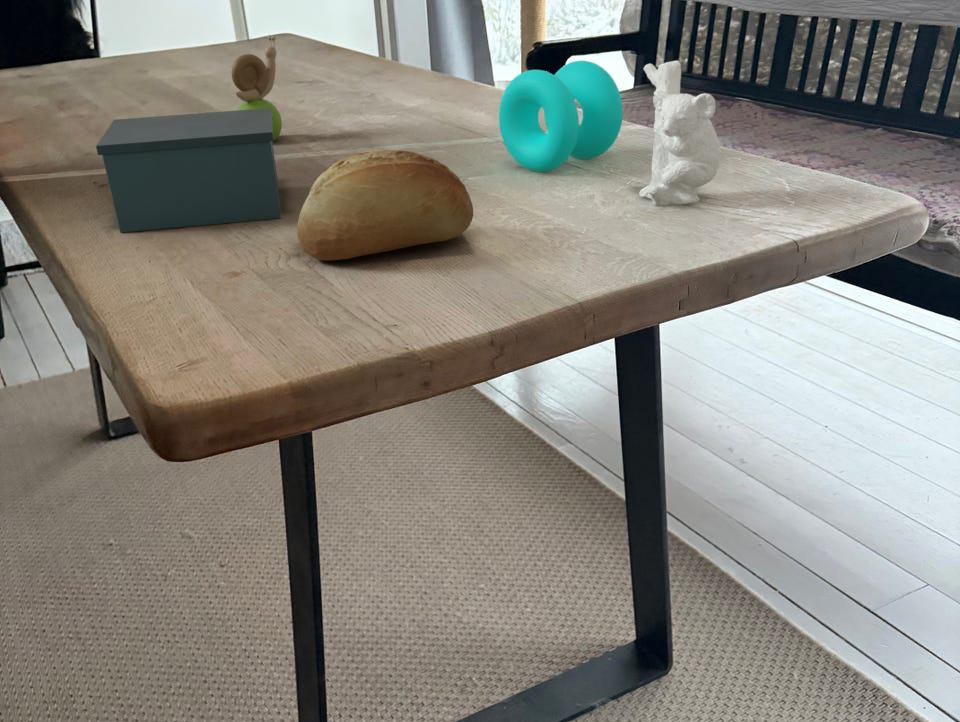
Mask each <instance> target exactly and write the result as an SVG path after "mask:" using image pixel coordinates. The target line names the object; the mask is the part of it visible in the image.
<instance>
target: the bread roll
mask: <svg viewBox="0 0 960 722" xmlns="http://www.w3.org/2000/svg"><path fill="white" fill-rule="evenodd" d="M473 218H474V207H473V202H472V200H471V196H470V194H469V192H468V190H467V188H466V185H465V184H464V183H463V182H462V181H461V179H460V177H459V176H458V175H457V174H456V173H454V171H452V170H451V169H450V168H449V167H448V166H447V165H445V164H444V163H442V162H440V161H439V160H437V159H436V158H433V157H430V156H427V155H424V154H421V153H417V152H414V151H409V150H398V149H379V150H371V151H365V152H361V153H356V154H354V155H351V156H348V157H345V158H343V159H340V160H339V161H336V162H334V163H333V164H331V165H330V166H329V167H328V168H327V169H325V170H324V171H323V172H322V173H321V174H320V175H319V176H318V177H317V179H315V181H314V183H313V185H312V186H311V188H310V190H309V192H308V195H307V197H306V199H305V201H304V203H303V205H302V207H301V210H300V213H299V215H298V221H297V224H296V229H297V232H296V234H297V241H298V244H299V245H300V246H301V251H302V252H304V253H305V254H307V255H308V256H310V257H311V258H313V259H315V260H318V261H319V260H320V261H338V260H349V259H353V258H357V257H362V256H369V255H374V254H378V253H384V252H390V251H394V250H400V249H404V248H410V247H415V246H418V245H424V244H429V243H430V244H431V243H436V242H437V243H439V242H444V241H445V242H446V241H449V240H452V239H455V238H457V237H459V236H462V234H463V233H465V231H467V229H468V228H470V225H471V223H472V222H473Z"/></svg>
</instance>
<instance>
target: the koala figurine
mask: <svg viewBox="0 0 960 722" xmlns="http://www.w3.org/2000/svg"><path fill="white" fill-rule="evenodd" d="M681 67H682V64H681V62H680V61H679V60H671V61H667V62H664V63H661V64H659V66H658V67H655V65H654V64H653V63H647V64H645V65H644V67H643V72H644V73H645V74H646V77H647V79H648V80H649V81H650V82H651V84H652V85H653V86H654V87H655V90H654V91H653V97H652V98H653V99H652V104H653V107H654V122H653V134H654V142H653V150H652V157H651V179H650V180H651V181H650V183H649V184H648V185H646V186H644V187H643V188H642V189H641V190H639V192H638V195H639V197H641V198H648V199H650V200H651V202H652V206H654V207H665V206H670V205H673V206H684V205H685V206H686V205H690V204H693V205H694V204H698V202H699V201H700V197H699V196H698V195H697V194H696V193H695V192H693V191H692V190H690V188H694V189H695V188H700V187H703V186H706V185H707V184H708V183H710V182H712V180H713V179H715V176H716V175H717V174H718V170H719V167H720V163H721V158H722V157H721V156H722V148H721V142H720V140H719V138H718V134H717V132H716V130H715V127H714V125H713V122H712V121H711V120H710V119H711V118H713V117H714V115H715V112H716V108H717V106H716V99H715V97H714V96H713V95H712V94H710V93H705V92H703V93H700V94H698V95H697V96H694V95H692V94H690V93H681V80H682V68H681Z"/></svg>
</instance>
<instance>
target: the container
mask: <svg viewBox="0 0 960 722" xmlns="http://www.w3.org/2000/svg"><path fill="white" fill-rule="evenodd" d="M272 141H273V126H272V114H271V108H264V109H251V110H238V109H237V110H226V111H213V112H210V111H209V112H199V113H183V114H171V115H159V116H143V117H131V118H130V117H129V118H119V119H113V120H112V122H111V123H110V125H109V126H108V127H107V129H106V131H104V133H103V135H102V136H101V138H100V139H99V141H98V142H97V144H96V145H95V148H96V153H97V155H98V156H102V160H103V164H104V168H105V173H106V177H107V182H108V185H109V189H110V195H111V199H112V204H113V207H114V212H115V216H116V221H117V225H118V229H119V232H120V233H121V234H123V233H134V232H145V231H158V230H167V229H178V228H190V227H200V226H210V225H221V224H232V223H244V222H255V221H265V220H276V219H277V220H278V219H282V212H281V199H280V197H281V196H280V186H279V178H278V172H277V164H276V157H275V150H274V143H273V142H274V141H273V142H272Z"/></svg>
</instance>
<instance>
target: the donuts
mask: <svg viewBox="0 0 960 722" xmlns="http://www.w3.org/2000/svg"><path fill="white" fill-rule="evenodd" d="M576 102H578V104H579V105H580V107H581V111H582V119H581V122H580V119H579V112H578V108H577V104H576ZM541 108H542V110H543V116H544V122H545V126H546V129H547V132H545V131H544V130H543V129H542V127H541V124H540V120H539V113H540V110H541ZM623 115H624V111H623V101H622V97H621V94H620V89H619V88H618V85H617V83H616V82H615V80H614V79H613V77H612V76H611V74H610V73H609V72H608V71H607V70H606V69H604V68H603V67H602V66H601V65H599V64H597V63H595V62H592V61H588V60H576V61H571V62H569V63H566V64H565V65H563V66H562V67H561V68H559V69H558V70H557V72H555V73H554V74H553V73H551V72H549V71H547V70H542V69H529V70H525V71H523V72H521V73H519V74H517V75H516V76H515V77H514V78H513V79H511V80H510V82H509V83H508V85H507V86H506V87H505V89H504V91H503V93H502V96H501V99H500V104H499V109H498V124H499V125H498V126H499V131H500V135H501V139H502V141H503V143H504V146H505V148H506V150H507V151H508V153H509V155H510V156H511V157H512V158H513V159H514V160H515V162H516V163H517V164H519V165H520V166H521V167H523V168H524V169H527V170H528V171H532V172H535V173H536V172H537V173H547V172H551V171H554V170H556V169H558V168H559V167H561V166H562V165H563V164H565V163H566V162H567V160H568V159H569V158H570V157H571V158H575V159H579V160H591V159H595V158H598V157H600V156H602V155H603V154H605V153H606V152H607V151H609V150H610V148H611V147H612V146H613V145H614V143H615V141H616V140H617V138H618V136H619V134H620V132H621V127H622V124H623V117H624V116H623Z"/></svg>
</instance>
